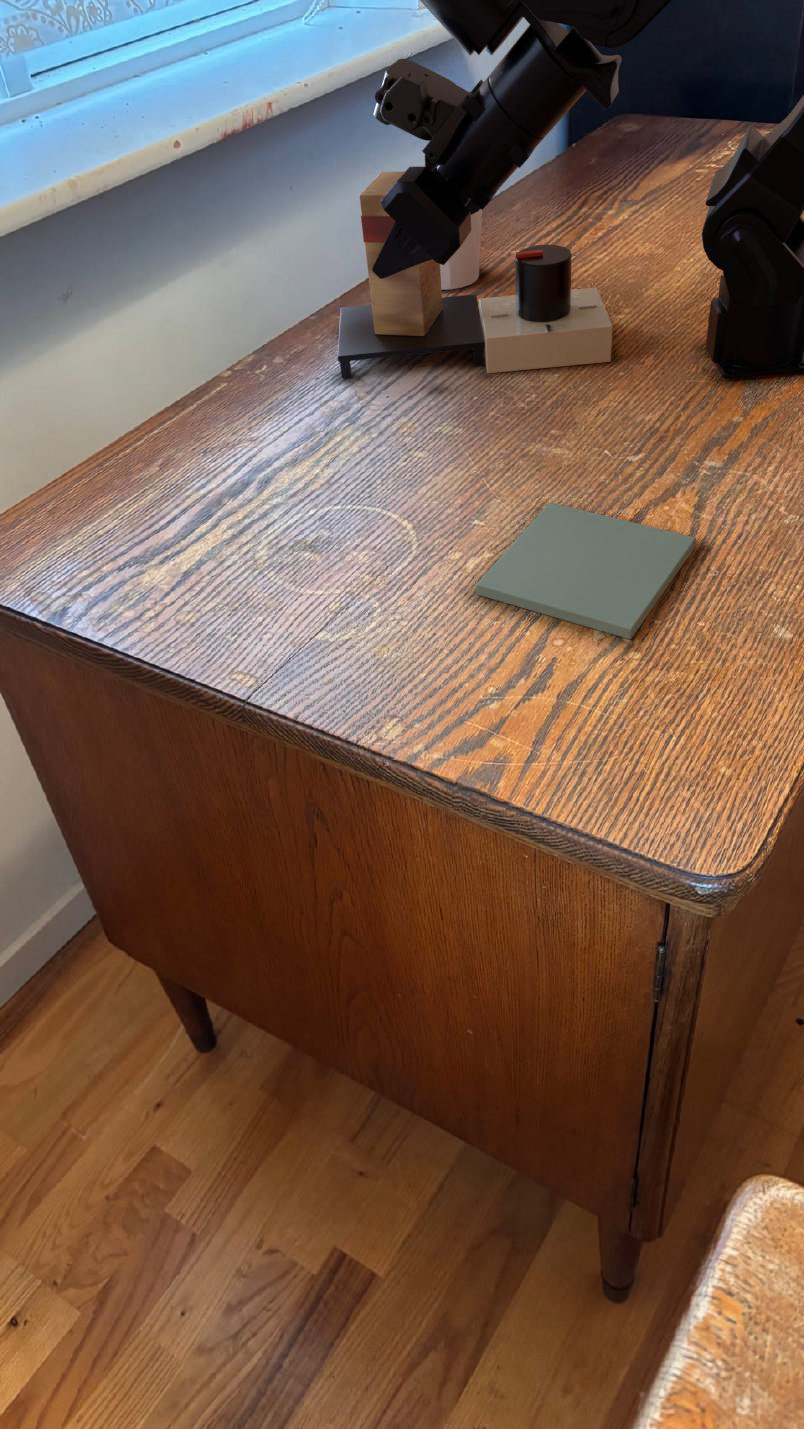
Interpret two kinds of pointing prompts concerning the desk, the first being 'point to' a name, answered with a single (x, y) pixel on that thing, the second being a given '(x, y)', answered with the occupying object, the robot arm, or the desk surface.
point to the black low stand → (447, 333)
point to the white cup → (464, 259)
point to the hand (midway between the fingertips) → (387, 260)
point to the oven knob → (543, 282)
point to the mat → (588, 569)
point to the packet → (408, 294)
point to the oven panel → (545, 334)
